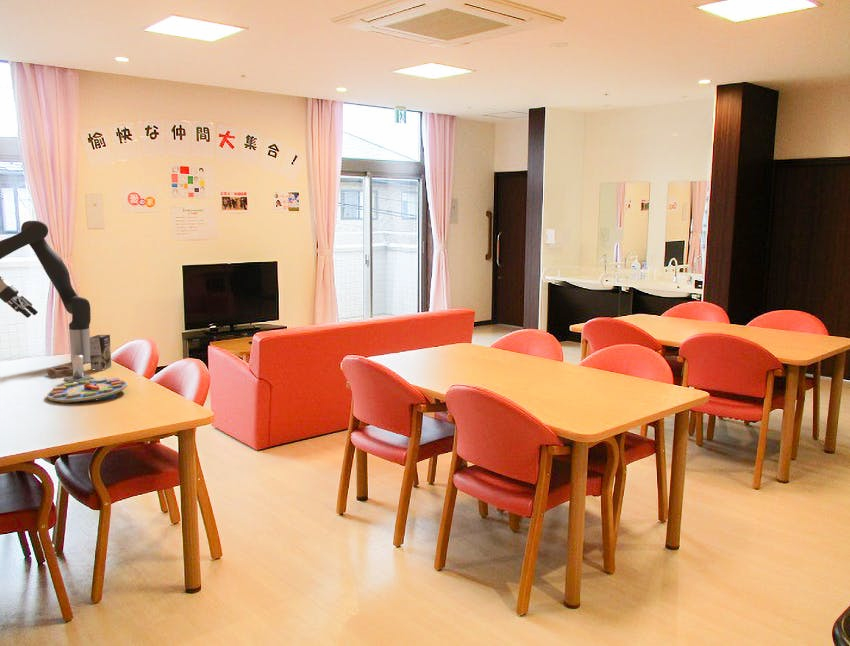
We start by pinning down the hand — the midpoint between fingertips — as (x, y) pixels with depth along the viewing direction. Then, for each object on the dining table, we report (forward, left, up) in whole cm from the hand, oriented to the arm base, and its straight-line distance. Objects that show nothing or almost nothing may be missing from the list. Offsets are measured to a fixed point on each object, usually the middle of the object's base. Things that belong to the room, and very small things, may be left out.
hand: (33, 315), depth 330 cm
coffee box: (-28, +5, -29) cm, 41 cm away
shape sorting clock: (+2, +51, -29) cm, 59 cm away
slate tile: (-9, +21, -29) cm, 37 cm away
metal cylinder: (-9, +21, -28) cm, 36 cm away
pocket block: (-9, +5, -29) cm, 30 cm away
